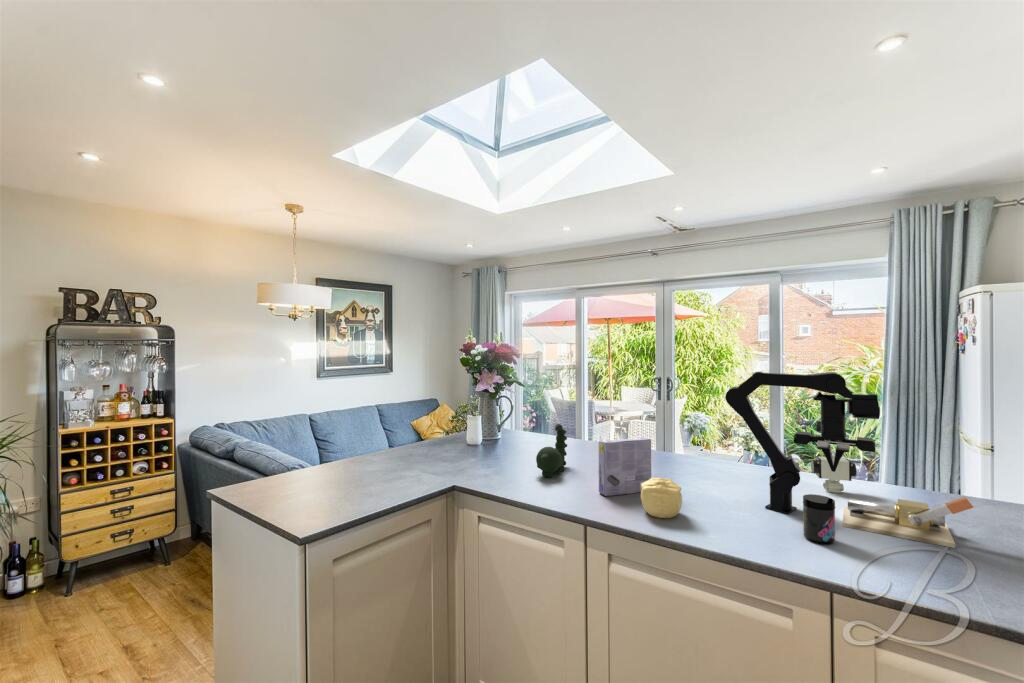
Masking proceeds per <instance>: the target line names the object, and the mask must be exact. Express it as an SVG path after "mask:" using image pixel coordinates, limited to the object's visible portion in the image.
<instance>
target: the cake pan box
mask: <svg viewBox="0 0 1024 683" xmlns="http://www.w3.org/2000/svg"><path fill="white" fill-rule="evenodd" d="M651 478H652V439H651V438H648V437H638V438H637V437H636V438H620V439H608V440H607V439H606V440H598V492H599V493H600V494H601V495H603V496H604V497H612V496H619V495H632V494H635V493H641V490H642V488H641V483H643V482H646V481H648V480H649V479H651Z"/></svg>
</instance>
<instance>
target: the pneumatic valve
mask: <svg viewBox="0 0 1024 683" xmlns="http://www.w3.org/2000/svg"><path fill="white" fill-rule="evenodd" d="M832 459H833V465H834V459H835V455H833V454H832ZM810 470H811V472H812V474H815V475H816V477H818V479H824V482H823V483H822V486H823V487H822V488H823V489H824V490H826V492H827V493H830V494H831V493H832V494H842V492H844V490H845V487H844V484H843V483H840V481H847V482H852V479H853V477H854V478H855V477H856V476H857V466H856V463H854V462H852V461H851V460H850V459H848V458H847V457H841V459H840V461H839V463H838V466H837V468H836V471H835V472H834V471H833V472H832V471H831V468H830V466H829V463H828V461H827V459H826V457H825V456H818V455H817V456H816V455H815V458H814V459H812V460H811V461H810Z"/></svg>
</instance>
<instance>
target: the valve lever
mask: <svg viewBox="0 0 1024 683" xmlns="http://www.w3.org/2000/svg"><path fill="white" fill-rule="evenodd" d="M973 508H975V507H974V506H973V504H972V503H971V502H970V501H969V499H968V498H967V497H966V496H964V497H960V498H957V499H955V500H951V501H949V502H946V503H945V504H943V505H940V506H937V507H933V508H929V509H930V510H927V511H924V512H921V513H918V514H914V513H912V514H909V515H908V516H907V519H908V522H909V523H910V524H911V525H912V526H920V525H921V524H922V523H923V522H926V521H929V520H932V519H936V518H939V517H942V516H945V517H946V516H947V515H951V514H952V515H955V514H958V513H961V512H964V511H967V510H970V509H973Z"/></svg>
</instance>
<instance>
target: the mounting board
mask: <svg viewBox="0 0 1024 683" xmlns="http://www.w3.org/2000/svg"><path fill="white" fill-rule="evenodd" d="M842 527H844V528H850V529H856V530H858V531H859V530H860V531H865V532H866V531H867V532H872V533H874V534H875V533H877V534H882V535H886V536H892V537H896V538H900V539H901V538H902V539H907V540H910V541H911V540H912V541H917V542H922V543H928V544H931V545H932V544H933V545H937V546H944V547H948V548H953V549H955V548H956V543H955V540H954V538H953V535H952V533H951V531H950V529H949V526H948V525H947V523H945V527H943V526H939V527H940V532H936V531H928V530H922V529H917V528H911V527H906V526H900V525H899V522H898V521H895V518H891V517H886V516H880V515H874V514H868V513H864V518H859V517H853V516H850V510H848V506H844V507H843V516H842Z"/></svg>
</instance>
